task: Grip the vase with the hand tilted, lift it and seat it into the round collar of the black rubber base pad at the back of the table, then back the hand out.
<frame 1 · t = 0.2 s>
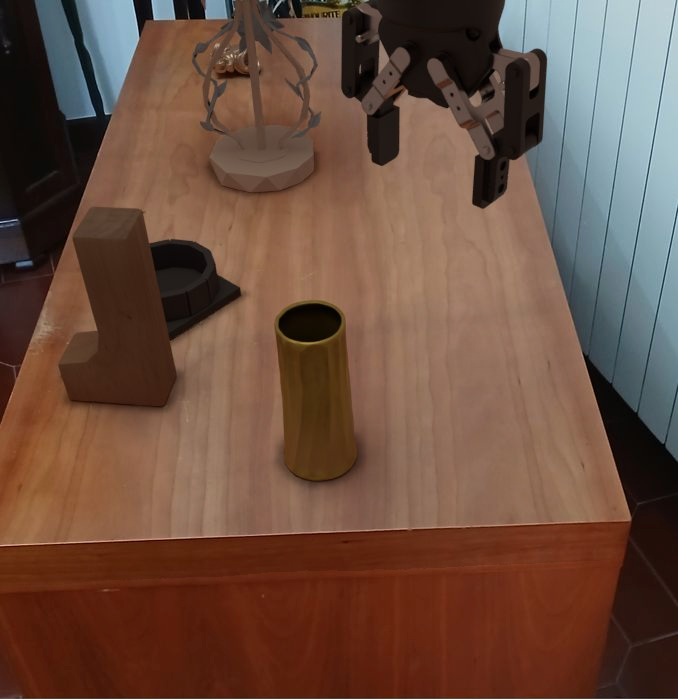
hand: (434, 180, 62), 24 cm above the table, tool pointing down, fingers open, 8 cm apart
table lamp: (264, 166, 113), on the table
vase: (320, 455, 77), on the table
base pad: (171, 299, 93), on the table
ornament: (233, 72, 134), on the table
wooden block: (124, 389, 84), on the table
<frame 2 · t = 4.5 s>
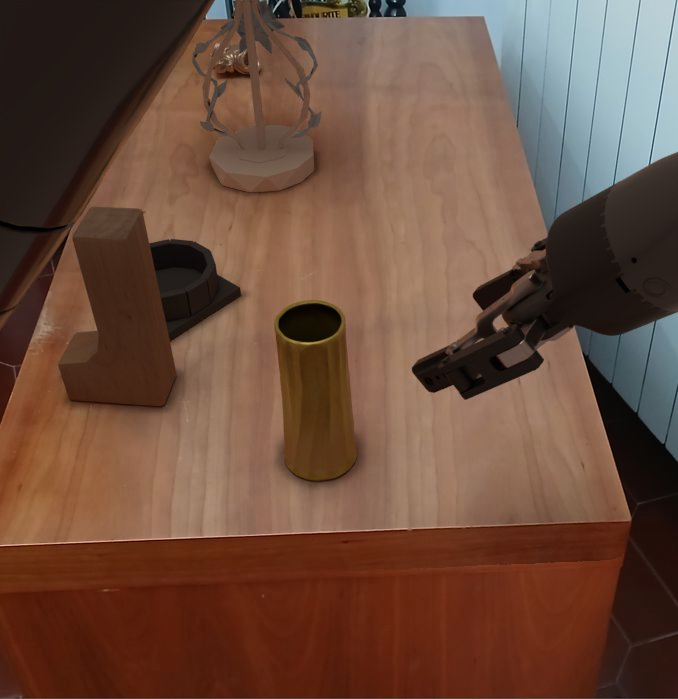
hand: (453, 339, 60), 17 cm above the table, tool tilted 45°, fingers open, 8 cm apart
nothing on the table moved.
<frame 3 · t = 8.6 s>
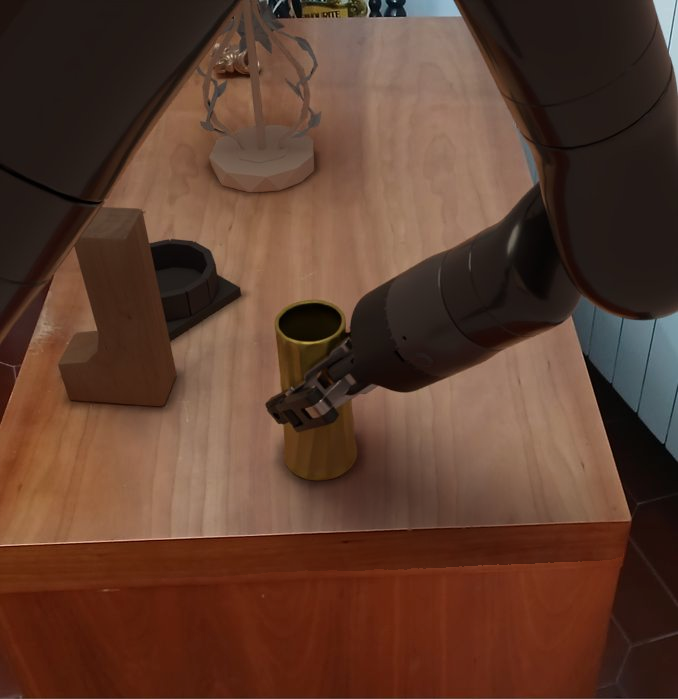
hand: (297, 389, 73), 7 cm above the table, tool tilted 45°, fingers closed on vase, 5 cm apart
vase: (320, 455, 77), on the table, touching gripper
everything else where it was.
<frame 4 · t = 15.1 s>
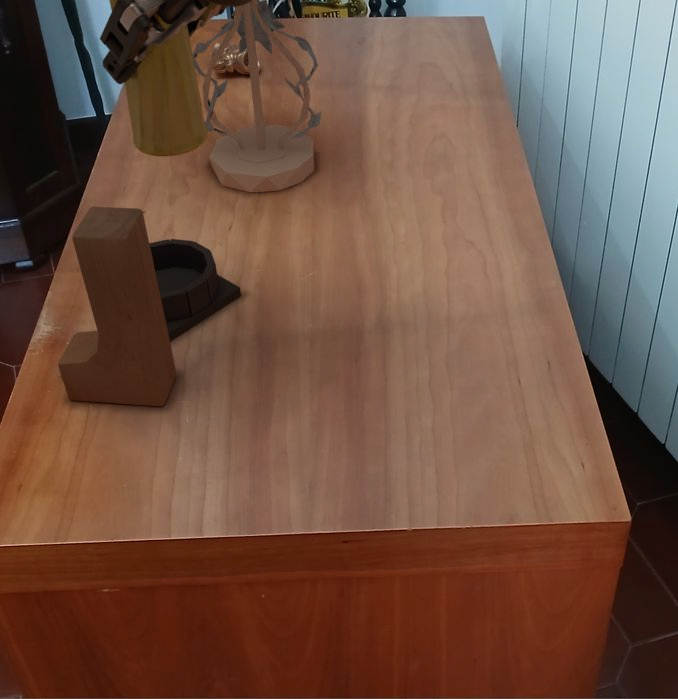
hand: (140, 58, 72), 27 cm above the table, tool tilted 45°, fingers closed on vase, 5 cm apart
vase: (172, 141, 76), point 20 cm above the table, touching gripper
everything else where it was.
when the fingers open (8 cm above the table, at t = 21.6 s): vase stays where it is, resting on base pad.
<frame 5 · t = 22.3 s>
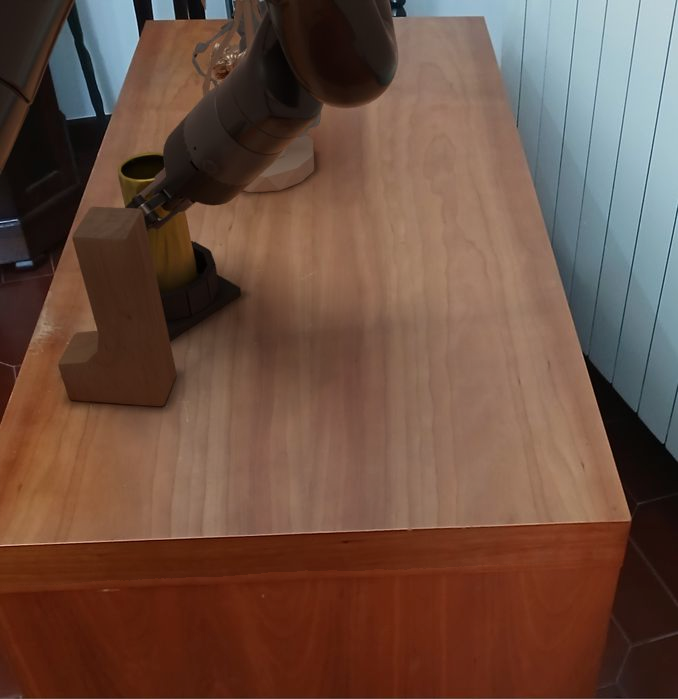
hand: (146, 222, 88), 9 cm above the table, tool tilted 45°, fingers open, 8 cm apart
vase: (172, 293, 93), point 1 cm above the table, touching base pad
everything else where it was.
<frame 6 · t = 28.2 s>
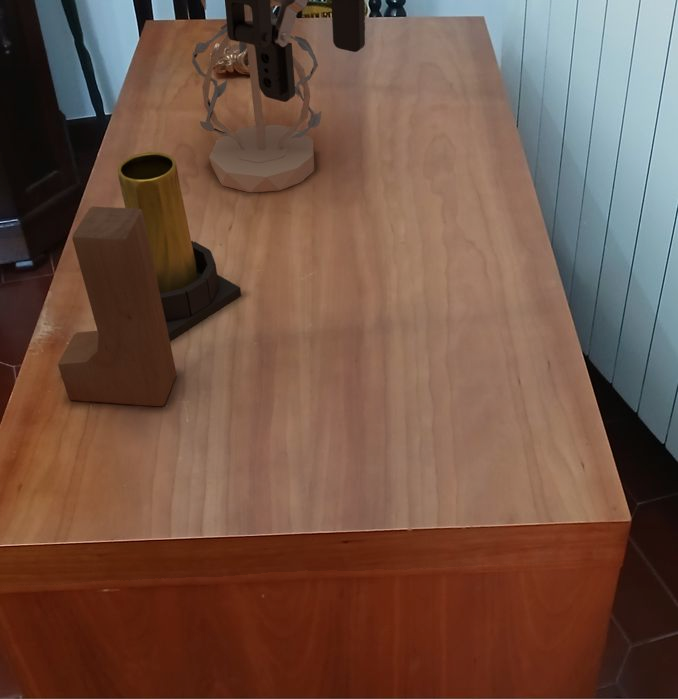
hand: (315, 72, 62), 30 cm above the table, tool pointing down, fingers open, 8 cm apart
nothing on the table moved.
at the end: vase 0.2 cm off-centre on the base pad, point 0.8 cm above the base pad's base; vase tilted 0°; the gripper is holding nothing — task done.
